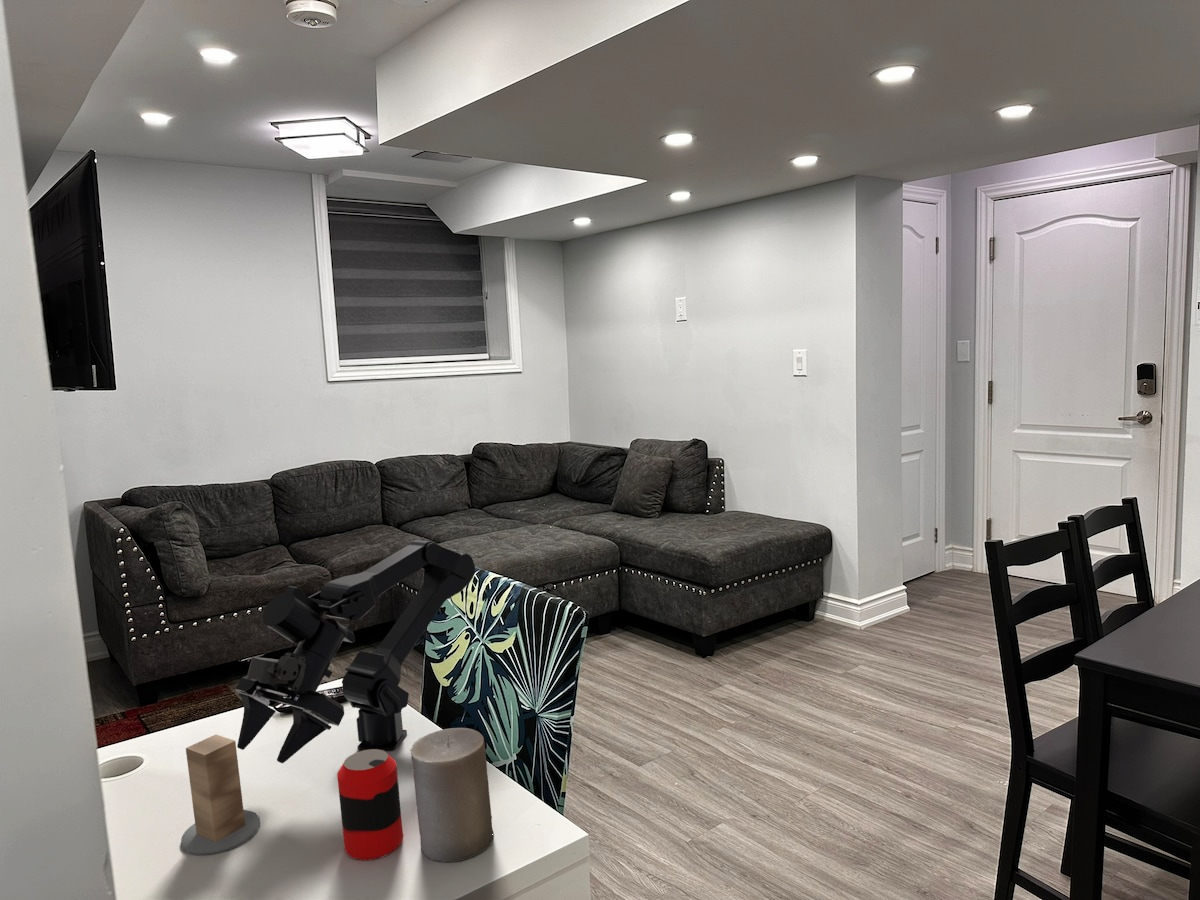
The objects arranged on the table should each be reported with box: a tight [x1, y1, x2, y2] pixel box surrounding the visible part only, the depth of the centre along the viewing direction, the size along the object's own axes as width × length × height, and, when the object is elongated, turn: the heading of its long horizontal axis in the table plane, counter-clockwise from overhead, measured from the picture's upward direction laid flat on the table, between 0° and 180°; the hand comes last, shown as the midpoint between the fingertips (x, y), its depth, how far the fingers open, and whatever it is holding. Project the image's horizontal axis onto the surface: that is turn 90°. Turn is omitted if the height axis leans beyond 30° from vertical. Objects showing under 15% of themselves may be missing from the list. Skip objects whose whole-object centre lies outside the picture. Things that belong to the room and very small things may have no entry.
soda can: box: [336, 749, 404, 861], centre depth 112 cm, size 8×8×12 cm
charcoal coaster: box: [180, 809, 261, 856], centre depth 117 cm, size 10×10×1 cm
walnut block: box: [185, 734, 245, 842], centre depth 116 cm, size 4×4×12 cm
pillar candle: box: [409, 727, 494, 863], centre depth 111 cm, size 10×10×15 cm
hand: (259, 755), depth 122 cm, fingers open, 9 cm apart
